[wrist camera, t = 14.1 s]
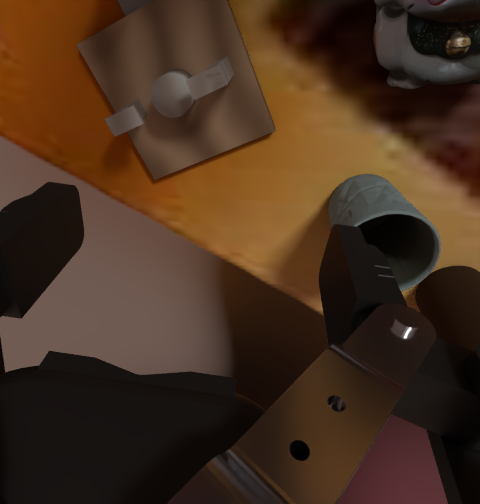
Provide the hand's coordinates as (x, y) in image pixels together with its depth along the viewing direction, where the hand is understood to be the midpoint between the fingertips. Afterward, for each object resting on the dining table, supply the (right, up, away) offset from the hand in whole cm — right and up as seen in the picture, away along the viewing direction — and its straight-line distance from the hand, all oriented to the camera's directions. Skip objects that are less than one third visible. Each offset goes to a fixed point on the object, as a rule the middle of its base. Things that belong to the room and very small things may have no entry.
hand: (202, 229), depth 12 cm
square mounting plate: (-5, +17, +29) cm, 34 cm away
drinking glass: (+17, +5, +35) cm, 39 cm away
